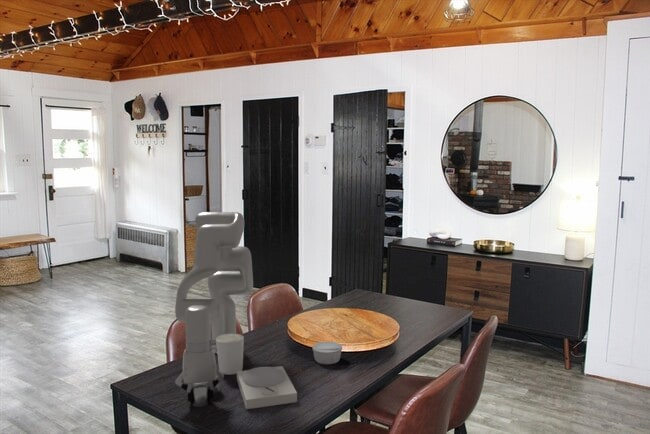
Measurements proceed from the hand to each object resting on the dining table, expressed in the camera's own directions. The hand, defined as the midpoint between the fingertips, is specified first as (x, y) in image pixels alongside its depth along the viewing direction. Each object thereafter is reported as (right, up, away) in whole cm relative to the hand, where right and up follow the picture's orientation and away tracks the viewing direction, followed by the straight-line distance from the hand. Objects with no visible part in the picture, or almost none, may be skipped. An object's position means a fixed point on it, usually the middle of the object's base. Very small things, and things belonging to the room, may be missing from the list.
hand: (200, 401), depth 164 cm
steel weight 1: (0, -1, 0) cm, 1 cm away
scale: (+19, 0, +9) cm, 21 cm away
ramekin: (+40, +3, +35) cm, 53 cm away
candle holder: (+5, +2, +25) cm, 26 cm away
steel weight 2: (+1, 0, +9) cm, 9 cm away
